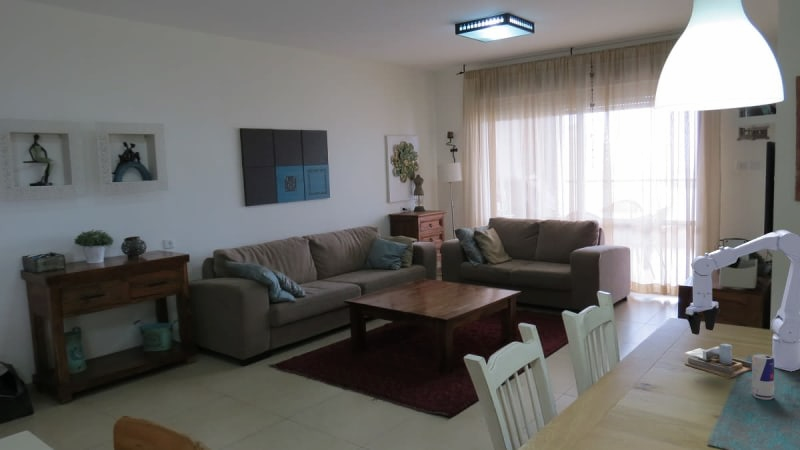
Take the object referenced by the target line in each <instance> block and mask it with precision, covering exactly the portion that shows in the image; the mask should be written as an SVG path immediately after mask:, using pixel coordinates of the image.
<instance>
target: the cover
mask: <svg viewBox="0 0 800 450" xmlns="http://www.w3.org/2000/svg"><path fill="white" fill-rule="evenodd" d="M683 355H684V356H688V357H690V358H694V359H702V360H705V361H707V360H710V359H713V358H716V357H719V346H717V345H716V346H714V347H711V348H708V349H703V348H700V347H698V348H696V349H695V348H694V349H693V350H688V351H686V352H684V353H683Z"/></svg>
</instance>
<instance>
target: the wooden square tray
mask: <svg viewBox="0 0 800 450" xmlns="http://www.w3.org/2000/svg"><path fill="white" fill-rule="evenodd" d="M684 364H685V366H687V367H690V368H694V369H696V370H697V369H698V370H701V371H704V372H708V373H711V374H714V375H716V376H717V375H718V376H721V377H724V378H728V379H730V378H734V377H737V376H738V375H742V374H745V373H746V372H749V371H752V361H747V360H744V359H740V358H736V357H733V356H732V366H729V367H728V366H725V365H721V364H719V357H716V358H713V359H710V360H707V361H705V360H702V359H698V358H695V357H691V356H688V358H687V362H686V363H684Z"/></svg>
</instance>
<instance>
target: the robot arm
mask: <svg viewBox="0 0 800 450" xmlns="http://www.w3.org/2000/svg"><path fill="white" fill-rule="evenodd" d="M718 248H719V249H717V250H714V251H712V252H709V253H708V252H705V253H704V255H698V256H696V257H694V258H693V259H692V260H691V264H690V267H691V268H692V272H693V273H692V276H693V277H692V302H690V304H689V306H688V307H686V308H685V312H684V317H685V318H686V320H687V322H688V325H689V328H690V332H691V334H692V335H696V336H698V335H700V333H701V331H700V330H701V322H702V320H703V318H704V325H705V326H704V327H705V330H707V331H712V332H713V330H714V328H715V325H716V322H717V319H718V317H719V315H720V313H721V309H719V302H718V301H714V300H713V278H712V274H713V272H714V270H715V271H717V270H719V269H722V268H725V267H727V266H730V265H732V264H735V263H737V261H738V258H740V257H743V256H746V255H749V254H752V253H755V252H758V251H759V252H760V251H761V250H772V251H778V250H779V251H781V252H783V253H784V255H785V256H786V257H787V258H788V259H789V260H790V265H789V270H788V274H787V278H786V283H785V288H784V292H783V297H782V300H781V305H780V307H779V309H778V310H777V312H776V316H775V317H774V318H773V319H772V320H771V323H770V327H771V329H772V331H773V332H774V334H773V335H772V348H771V349H772V353H771V354H772V356H773V358H774V368H776V369H779V370H784V371H787V372H792V371H793V372H795V371H797V370H800V235H798V234H796V233H793V232H790V231H789V230H786V229H779V230H775V232H774V231H772V232H769V233H766V234H764V235H761V236H758V237H757V238H756V237H755V238H754V239H752V240H750V241H747V242H745V243H743V244H740V245H737V246H735V247H730V246H725V247H724V246H723V245H722V246H719V247H718ZM700 312H702V314H703V315H701V314H699V313H700Z"/></svg>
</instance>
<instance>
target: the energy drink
mask: <svg viewBox="0 0 800 450" xmlns="http://www.w3.org/2000/svg"><path fill="white" fill-rule="evenodd" d="M751 362H752V370H751V395H752V396H753V397H754V398H756V399H759V400H763V401H770V400H772V399H774V398H775V367H774V358H773V356H772V355H771V354H769V353H764V352H757V353H753V355H752V357H751Z"/></svg>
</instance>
